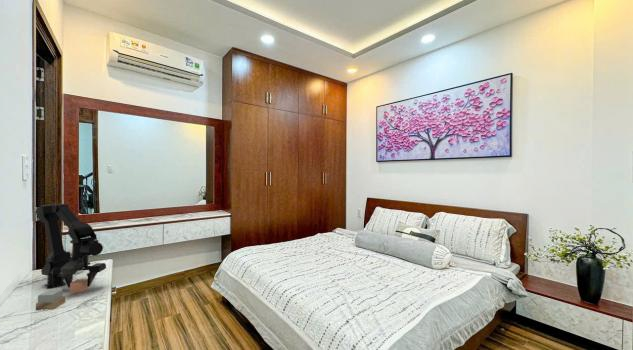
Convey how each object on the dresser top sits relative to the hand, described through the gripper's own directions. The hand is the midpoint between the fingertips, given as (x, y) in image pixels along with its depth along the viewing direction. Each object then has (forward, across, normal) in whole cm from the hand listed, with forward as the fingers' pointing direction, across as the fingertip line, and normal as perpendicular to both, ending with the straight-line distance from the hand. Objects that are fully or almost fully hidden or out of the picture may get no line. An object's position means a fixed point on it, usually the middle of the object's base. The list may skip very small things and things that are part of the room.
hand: (79, 287), depth 120 cm
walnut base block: (+2, -1, -15) cm, 15 cm away
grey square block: (-1, -1, -15) cm, 15 cm away
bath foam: (+2, -18, +25) cm, 30 cm away
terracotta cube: (+2, 0, 0) cm, 2 cm away
